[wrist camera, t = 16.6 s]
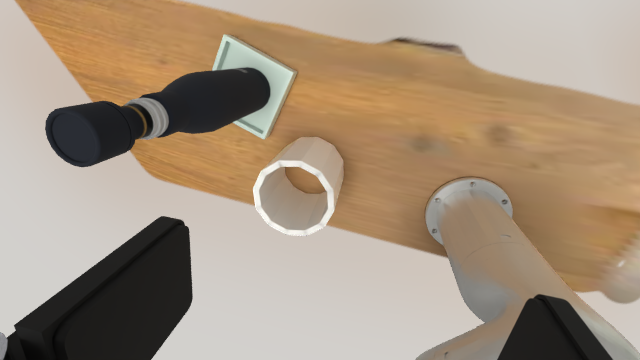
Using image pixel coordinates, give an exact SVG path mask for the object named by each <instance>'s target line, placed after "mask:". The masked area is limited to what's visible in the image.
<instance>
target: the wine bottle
mask: <svg viewBox="0 0 640 360" xmlns="http://www.w3.org/2000/svg"><path fill="white" fill-rule="evenodd" d="M270 91H271V89H270V85H269V82H268V80H267V78H266V76H265V75H264V74H263V73H262V72H261V71H259V70H257V69H255V68H250V67H245V68H235V69H224V70H214V71H204V72H195V73H190V74H186V75H184V76H182V77H180V78H178V79H176V80H175V81H173V82H172V83H170V84H169V85H168V86H167V87H166V88H164V89H163V90H162V91H161V92H157V93H151V94H146V95H142V96H141V97H140V98H138V99H133V100H130V101H129V102H128V103H127V104H125V105H124V106H121V107H120V106H118V105H116V104H114V103H112V102H108V101H99V102H93V103H87V104H81V105H76V106H69V107H64V108H59V109H55V110H54V111H53V112H51V113H50V114H49V116H48V118H47V120H46V127H45V130H46V135H47V139H48V141H49V143H50V145H51V147H52V148H53V150H54V151H55V152H56V153H57V155H58V156H60V157H61V158H62V159H63V160H65V161H66V162H68V163H70V164H72V165H74V166H79V167H88V166H92V165H94V164H97V163H100V162H102V161H105V160H108V159H110V158H113V157H115V156H118V155H120V154H123V153H125V152H127V151H129V150H130V149H131V148H132V146H133V145H134V143H135V139H146V140H147V139H152V138H154V137H158V138H159V137H165V136H168V135H170V134H173V133H176V132H184V133H191V134H195V133H205V132H212V131H215V130H217V129H219V128H222V127H224V126H226V125H228V124H230V123H232V122H234V121H237V120H239V119H241V118H243V117H245V116H247V115H250V114H252V113H254V112H256V111H258V110H260V109H262V108H263V107H264V106H265V105H266V104H267V103H268V101H269V98H270Z"/></svg>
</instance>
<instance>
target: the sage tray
mask: <svg viewBox="0 0 640 360" xmlns="http://www.w3.org/2000/svg"><path fill="white" fill-rule="evenodd" d="M245 67H250V68H255V69H257V70H259V71H261V72H262V73H263V74H264V75H265V76H266V78H267V80H268V82H269V85H270V89H271V91H270V98H269V101H268V103H267V104H266V105H265V106H264V107H263V108H262V109H260V110H258V111H256V112H254V113H252V114H250V115H247V116H245V117H243V118H241V119H239V120H237V121H234V122H233V123H234V124H236V125H238V126H240V127H242V128H244V129H245V130H247V131H249V132H251V133H253V134H255V135H256V136H258V137H260V138H262V139H266V138H267V137H268V136H269V135H270V133H271V131H272V129H273V126H274V124H275V122H276V120H277V117H278V115H279V113H280V111H281V108H282V106H283V104H284V102H285V100H286V97H287V95H288V93H289V91H290V88H291V86H292V84H293V82H294V79H295V77H296V75H297V73H298V72H297V71H295V70H293V69H292V68H290V67H288V66H286V65H284V64H283V63H281V62H279V61H277V60H275V59H274V58H272V57H270V56H268V55H266V54H265V53H263V52H261V51H259V50H257V49H256V48H254V47H252V46H250V45H248V44H247V43H245V42H243V41H241V40H239V39H238V38H236V37H234V36H232V35H226V34H224V35H223V39H222V42H221V45H220V48H219V51H218V54H217V57H216V60H215V63H214V66H213V69H212V71H214V70H224V69H235V68H245Z"/></svg>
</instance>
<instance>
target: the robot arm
mask: <svg viewBox="0 0 640 360" xmlns="http://www.w3.org/2000/svg"><path fill="white" fill-rule="evenodd" d="M471 182H473V183H471ZM435 198H438V199H435ZM503 199H504V200H503ZM502 200H503V201H502ZM512 216H513V209H512V204H511V201H510V199H509V197H508V196H507V194H506V193H505V192H504V191H503V190H502V189H501V188H500V187H499V186H498V185H496V184H495V183H493V182H491V181H489V180H486V179H483V178H476V177H465V178H460V179H456V180H453V181H450V182H448V183H446V184H445V185H443V186H441V187H440V188H439V189H438V190H436V191H435V193H434V194H433V195H432V196H431V198H430V199H429V201H428V203H427V206H426V209H425V220H426V225H427V228H428V230H429V232H430V234H431V235H432V236H433V238H434V239H435V240H436V241H438V242H439V243H440V244H442V245H444V247H445V250H446V252H447V255H448V258H449V261H450V264H451V267H452V270H453V273H454V275H455V278H456V281H457V284H458V287H459V290H460V293H461V295H462V297H463V299H464V302H465V303H466V305H467V306H468V307H469V309H470V310H471V311H472V312H473V313H474V314H475V315H476V316H477V317H478V318H479V319H481V320H482V321H484V322H485V323H484V324H482V325H480V326H478V327H477V328H475V329H473V330H471V331H468V332H466V333H464V334H462V335H460V336H457V337H455V338H453V339H451V340H448V341H446V342H444V343H442V344H440V345H438V346H436V347H434V348H432V349H430V350H428V351H426V352H424V353H422V354H421V355H420V356H419V357H417V358H416V360H640V354H639V352H638V351H637V350H636V349H635V348H634V347H633V346H632V344H631V343H630V342H629V341H628V340H627V339H625V337H624V336H623V335H622V334H621V333H619V332H618V331H617V330H616V329H615V328H614V327H613V326H612V325H611V324H610V323H608V322H607V321H606V320H605V319H604V318H603V317H601V316H600V315H599V314H598V313H597V312H595V311H594V310H593V309H592V308H591V307H590V306H589V305H588V304H586V303H585V302H584V301H583V300H582V299H581V298H580V297H579V296H578V295H577V294H576V293H575V292H573V291H572V290H571V289H570V287H569V286H568V285H567V284H566V283H565V282H564V281H563V280H562V279H561V277H560V276H559V275H558V274H557V273H556V272H555V271H554V270H553V268H552V267H551V266H550V265H549V264H548V262H547V261H546V260H545V259H544V257H543V256H542V255H541V254H540V253H539V252H538V250H537V249H536V248H535V247H534V245H533V244H532V243H531V242H530V241H529V239H528V238H527V237H526V236H525V234H524V233H523V232H522V231H521V229H520V228H519V227H518V226H517V225H516V223H515V222H514V221H513V220H512ZM191 302H192V277H191V257H190V238H189V228H188V227H187V226H185V224H184V222H183V221H182V220H179V219H174V218H170V217H165V216H161V217H160V218H158V219H156V220H155V221H154V222H152V223H151V224H150V225H148V226H147V227H146V228H144V229H143V230H142V231H141V232H139V233H138V234H136V235H135V236H133V237H132V238H131V239H129V240H128V241H127V242H125V243H124V244H123V245H121V246H120V247H119V248H118V249H116V250H115V251H113V252H112V253H111V254H109V255H108V256H107V257H105V258H104V259H103V260H101V261H100V262H98V263H97V264H96V265H94V266H93V267H92V268H90V269H89V270H88V271H87V272H85V273H84V274H82V275H81V276H80V277H78V278H77V279H76V280H74V281H73V282H72V283H70V284H69V285H68V286H66V287H65V288H64V289H62V290H61V291H59V292H58V293H57V294H56V295H54V296H53V297H51V298H50V299H49V300H47V301H46V302H45V303H43V304H42V305H41V306H39V307H38V308H37V309H35V310H34V311H33V312H31V313H30V314H29V315H27V316H26V317H24V318H23V319H22V320H20V321H19V322H18V323H16V324H15V325H14V327H15V329H16V331H15V332H14V333H12V334H11V335H10V336H8V337H7V338H6V337H5V335H4V334H3V333H0V360H151V359H152V358H153V356H154V355H155V354H156V352H157V351H158V350H159V348H160V347H161V346H162V344H163V343H164V342H165V340H166V339H167V338H168V336H169V335H170V334H171V332H172V331H173V330H174V328H175V327H176V325H177V324H178V323H179V322H180V320H181V319H182V317H183V316H184V315H185V313H186V312H187V311H188V309H189V307H190V305H191Z"/></svg>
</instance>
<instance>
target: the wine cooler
mask: <svg viewBox="0 0 640 360" xmlns="http://www.w3.org/2000/svg"><path fill="white" fill-rule="evenodd" d="M285 167H301V168H303V169H304V170H306V171H308V172H310V173H312V174H314V175H315V176H317V177H318V179H319V180H320V182H321V183H322V185H323V186H324V188H325V189H326V191H324V192H322V193H321V194H309V193H304V192H303V191H301V190H299V189H297V188H295V187H294V186H293V185H292V184H291V182H290V181H289V179H288V178H287V176H286V173H285ZM343 178H344V166H343V159H342V158H341V156H340V154H339V153H338V151H337V150H336V148H335V146H334V145H332V144H330V143H328V142H327V141H325V140H323V139H321V138H319V137H300V138H298V139H297V140H295V141H293V142H292V143H290V144H289V145H287V146H286V147H285V148H284V149H283V150H282V151H281V152H280V153H279V154H278V155H277V156H276V157H275V158H274V159H273V160H272V161H271V162H270V163H269V164H268V165H267V166H266V167H265V168H264V169H263V170H261V172H260V174H259V177H258V179H257V181H256V183H255V185H254V187H253V193H254V200H255V207H256V209H257V211H258V212H259V213H260V215H261V216H262V217H263V219H264V220H265V222H266V223H267V224H268V225H269V226H271V227H273V228H275V229H277V230H278V231H281V232H282V233H284V234H286V235H303V236H307V235H309V234H311V233H313V232H315V231H317V230H320V229H322V228H324V227H325V225H326V223H327V222H328V220H329V219H330V217H331V215H332V214H333V212H334V210H335V207H336V203H337V200H338V196H339V192H340V189H341V185H342V182H343Z"/></svg>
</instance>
